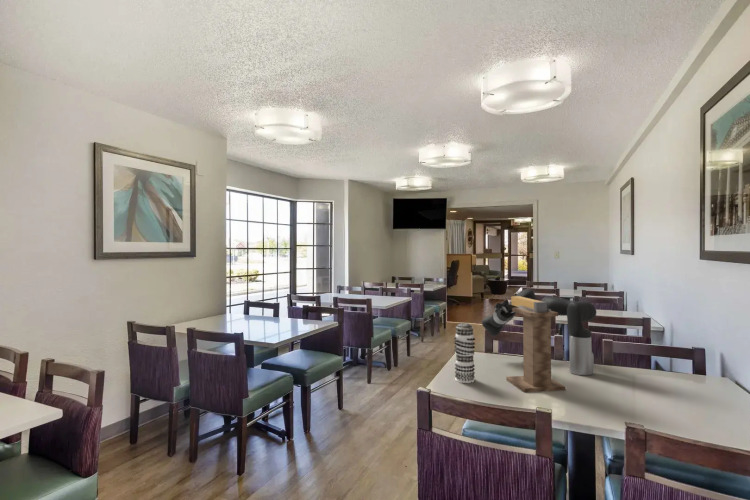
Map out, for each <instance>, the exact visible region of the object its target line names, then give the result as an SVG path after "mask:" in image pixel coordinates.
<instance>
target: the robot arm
mask: <svg viewBox="0 0 750 500" xmlns="http://www.w3.org/2000/svg"><path fill="white" fill-rule="evenodd" d="M515 296H521V297H525V298H529V299H534V300H538V299H537V296H536V294H535V292H534V289H532V288H525V289H523V290H521V291H519V292H518V293H517V294H515ZM540 301H542V302H547V309H551V311H554V312H558V316H561V317H562V316H565V317H566V318H567V319H566V320H567V329H568V332H569V333H568V334H569V338H568V339H569V341H568V342H569V344H568V345H569V373H571V374H573V375H577V376H578V375H579V376H591V375H593V374H594V373H595V372H594V371H595V370H594V366H595V365H594V363H595V362H594V353H593V352H592V331H591V330H590V329H588V328H585V327H584V324H583V322H590V321H592V320H594V319H595V318H596V317H597V316H596V315H597V309H596V307H595V306H594V304H593V303H591V302H589V301H577V300H570V299H565V298H562V297H558V296H557V297H556V296H553V295H551V296H549V295H548V296H545V297H543V298H542V299H541V300H540ZM493 308H494V313H492V314H491V315H487V316H486V317H484V318H483V320H482V321H481V325H482V327H483V328H484V329H485V330H486V332H488V333H489V335H490V336H492V337H495V336H498V335H499V334H500V332H501V331H502V329H503V328H504V326H505V325H506V324H507V323H508V322H510V321H511V320H513V318H514V317H515V315H516V314H517V313H516V312H513V311H512V308H519V307H517V306H513V305H511V301H510V302H509V299H505V300H504V301H502V302H497V303H496V304H495V305H494V307H493Z"/></svg>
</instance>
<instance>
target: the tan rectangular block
mask: <svg viewBox="0 0 750 500" xmlns="http://www.w3.org/2000/svg"><path fill="white" fill-rule="evenodd" d="M510 302H511V305H513V306H517V307H519V305H521V306H525V307H529V308H532V309H536V310H537V312H547V302H542V301H541V300H538V299H537V300H534V299H529V298H525V297H521V296H516V295H515V296H514V295H513V296H511V299H510Z"/></svg>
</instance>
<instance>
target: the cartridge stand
mask: <svg viewBox="0 0 750 500" xmlns="http://www.w3.org/2000/svg"><path fill="white" fill-rule="evenodd" d="M512 311H513V312H516V314H520V315H523V316H522V321H523V322H522V327H523V328H522V331H523V332H522V333H523V337H522V338H523V339H522V341H523V343H522V344H523V345H522V346H523V347H522V348H523V350H522V351H523V357H522V358H523V375H516V376H515V375H512V376H511V375H510V376H506V379H505V380H506V382H508V383H510V384H511V385H513V386H514V387H515V388H516V389H518V390H520V391H521V392H523V393H536V392H537V393H539V392H555V391H558V392H559V391H566V386H565V385H563V384H561V383H560V382H559V381H556V380H554V379H553V378H552V317H559V315H558V312H554V311H551V309H547V312H537V310H536V309H532V308H529V307H525V306H521V305H519V308H512Z"/></svg>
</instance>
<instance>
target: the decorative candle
mask: <svg viewBox="0 0 750 500" xmlns="http://www.w3.org/2000/svg"><path fill="white" fill-rule="evenodd" d="M474 329H475V327H474V326H473V325H472V324H471V323H469V322H459V323H458V324H457V325H456V326H455V336H454V339H453V340H454V341H453V342H454V354H455V357H456V358H455V364H454V366H455V368H454V369H455V371H454V374H455V378H454V379H455V381H456V382H458V383H462V384H470V383H471V382H472V383H474V382H475V381H474V380H475V378H476V377H475V374H476V372H475V369H476V368H475V367H476V366H475V360H474V355H475V352H476V351H475V350H474V349H476V347H475V345H476V343H475V342H474V341H475V340H476V338H475V337H474V335H475V334H474Z"/></svg>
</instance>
